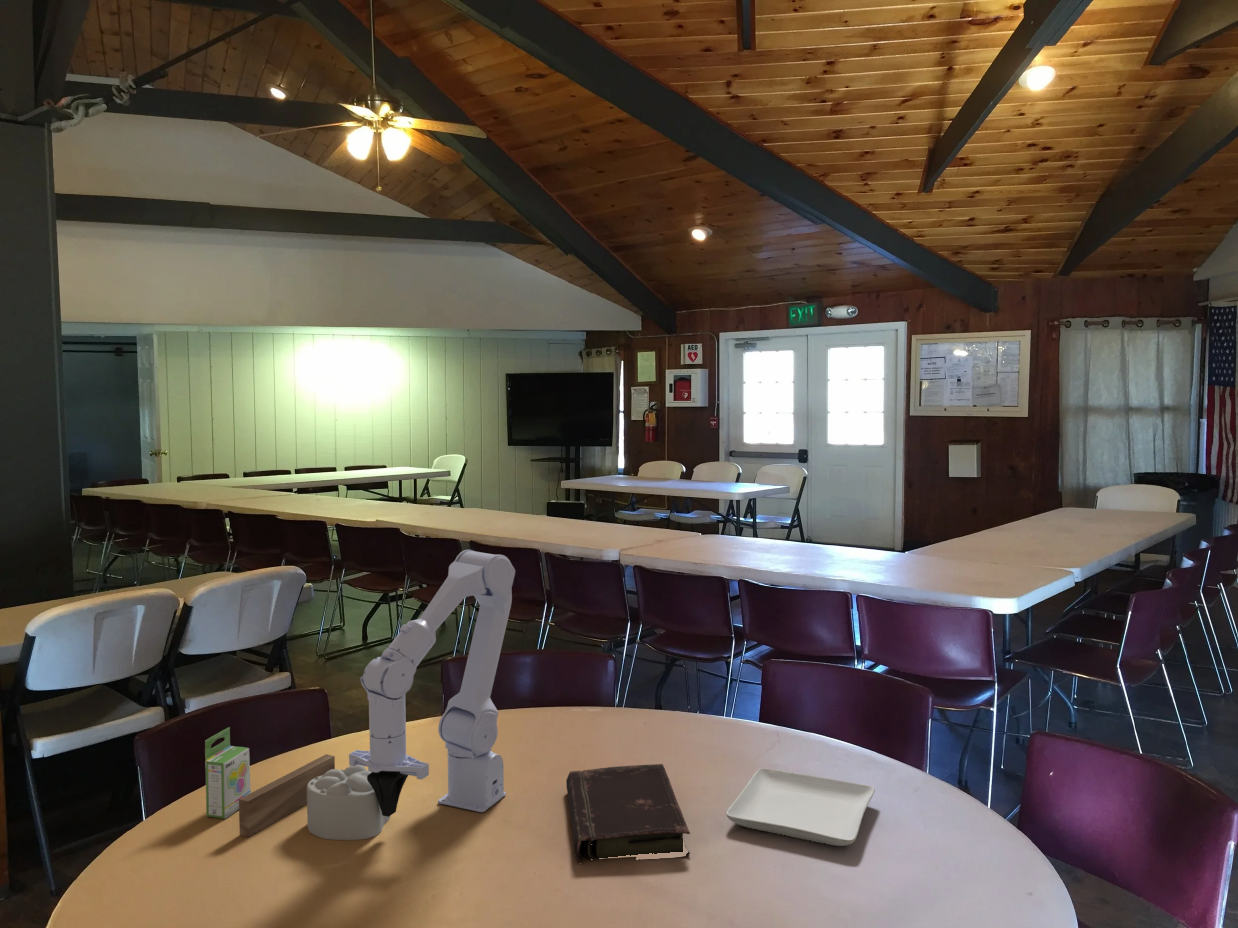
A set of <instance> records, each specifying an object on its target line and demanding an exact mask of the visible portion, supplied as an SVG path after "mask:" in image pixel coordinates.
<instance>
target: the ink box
mask: <svg viewBox="0 0 1238 928" xmlns="http://www.w3.org/2000/svg"><path fill="white" fill-rule="evenodd" d="M230 730H231V727H230V726H229V727H226V728H225V729H223V730H221V731H220V732H217V733H216V734H214V735H212V736H211V737H209V738H207V739H206V740H204V746H205V747H204V755H205V756H204V757H205V761H204V764H205V765H204V766H205V810H206V811H205V812H206V814H205V816H206V817H209V818H216V819H223V820H225V819H226V820H227V818H229V817H231V816H232V815H233V814H234V813H236V812H237V811H239V799H240V798H242V797H244V796H246V795H248V794H250V793H252V791H251V790H252V789H251V767H250V765H251V764H250V762H251V761H250V748H249V747H244V746H234V745H231V731H230ZM221 738H224V740H223V741H221V742H219V743H218V744H217V745H215V746H213V747H212V745H213V744H214V743H215V742H216V741H217V740H218V739H221Z"/></svg>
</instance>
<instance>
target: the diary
mask: <svg viewBox="0 0 1238 928" xmlns="http://www.w3.org/2000/svg"><path fill="white" fill-rule="evenodd" d="M565 787H566V792H567V793H566V794H567V799H568V805H569V817H570V824H571V831H572V836H573V846H574V849H573V850H574V857H575V859H576V862H577V863H581V862H582V855H581V845H582V842H585V845H586V850H587V855H588V857H589V859H593V860H594V856H593V857H592V854H593V849H592V850H591V847H592V845H591V844H595V845H594V847H595V852H596V856H597V858H598V860H599V858H608V857H618V856H626V855H630V856H631V855H638V854H649V853H652V854H653V853H654V854H657V853H670V852H683V839H684V835H683V834H685V835H686V834H687V835H690V834H691V832H690V830H689V827H688V825H687V822H686V820H685V817H684V815H683V813H682V810H681V807H680V805H679V803H678V800H677V798H676V795H675V792H674V789H673V786H672V783H671V780H670V779H669V776H668V773H667V771H666V769H665V767H664V764H663V763H656V764H652V763H651V764H638V765H619V766H610V767H609V766H608V767H600V768H591V769H586V770H585V769H584V770H572V771H569V773H568V775H567V777H566V786H565ZM689 854H690V855H691V852H690V851H688V853H687V854H686V855H688V856H690V855H689ZM580 855H581V856H580Z"/></svg>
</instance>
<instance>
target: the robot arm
mask: <svg viewBox="0 0 1238 928" xmlns="http://www.w3.org/2000/svg"><path fill="white" fill-rule="evenodd" d="M455 557H456V558H455V560H454V561H453V562H451V563H450V564H449V566H448V573H447V574H448V575H447V577H446V579H444V582H443V583H442V585H440V587H439V589H438V590H437V592H436V593H435V594H434V596H433V598H432V599H431V601H430V602H429V603H428V605H427V607H426V608H425V609H424V611H423V612H422V614H421V615H420V617H419V618H418V619H414V620H413V619H412V620H409V621H407V623H406V624H405V623H403V625H402V626H401V627H400V628H399V633H398V634H397V635H396V636H395V638H394V639H393V640H392V642H391V643H389V645H388V646H387V648H386V649H384V650H383V652H382V653H381V654H382V655H380V656H377V657H376V658H373V659H372V660H370V661H369V662H368V664H367V665H366V666H365V668H364V670H363V673H362V674H363V675H362V676H360V677H359V678H360V679H359V680H360V683H361V685H362V688H363V689H364V690H365V692H366V694H367V700H368V719H369V720H368V722H369V724H368V725H369V726H368V727H369V728H368V729H369V732H368V733H369V750H361V749H355V750H353V751H352V752H350V753H349V754H348V766H355V765H361V766H364V767H365V768H366V767H367V770H368V771H370V772H371V773H370V774H369V775H367V781H368V782H369V783H370V785H371V786H372V788H373V790H374V792H375V794H376V796H377V799H378V802H379V805H380V808H381V812H382V815H383V816H387V817H389V816H390V817H392V815H393V814H395V813H397V808H398V803H399V800H400V796H401V793H402V790H403V786H404V784H405V783H406V780H407V779H408V777H409V776H411V777H416V779H417V780H419V781H420V780H421V781H422V780H424V779H425V778H427V777H428V776H429V775H430V763H427V762H424V761H421V760H419V759H417V758H414V757H413V756H411V755H408V754H407V723H406V721H407V720H406V717H407V715H406V694H407V693H408V692H409V691H410V690H411V688H412V686H413V683H414V677H415V676H414V675H415V674H416V672H417V669H418V668H417V667H418V666H419V665H420V663H421V662H422V660H424V658H425V656H426V655H427V654H428V653H429V651H430V650H431V649H432V647H433V646H434V645H435V643H436V642H437V636H436V631H437V630H438V628H440V626H441V625H443V623H444V622H445V621H446V620H447V618H448V617H449V616H450V615H451V614H452V613H453V611H455V609H456V608H457V607H458V605H460V604H461V603H462V602H463V600H464V599H465V598H467V597H471V596H473V597H474V598H475V600H476V601H477V603H478V604H479V609H478V612H477V618H476V622H475V624H474V625H475V626H474V630H473V634H472V637H471V638H472V639H471V642H470V646H469V651H468V654H467V660H466V664H465V668H464V673H463V678H462V681H461V685H460V690H459V691H458V693H457V694H455V695H454V696H452V697H451V698H450V699H449V700H448V703H447V706H446V708H445V711H444V713H443V714H442V715H441V717H440V720H439V723H438V729H437V730H438V735H439V738H440V739H441V740H442V741H443V742H445V749H447V793H446V794H444V795H443V796H442V797H440V798H438V800H437V803H438V804H441V805H446V806H449V807H455V808H460V809H464V810H470V811H473V812H478V813H484V812H486V811H487V810H488V809H489V808H491V807H492V806H494V805H495V804H496V803H497V802H498V801H500V800H501V799H502V798H504V797H505V796H506V795H507V792H506V791H504V790H505V789H504V787H505V786H504V783H505V781H504V777H505V776H504V772H505V771H504V760H503V757H502V756H501V755H500V754H498V753H495V752H493V751H492V749H493V747H494V745H495V743H496V742H497V738H498V717H499V711H498V709H497V707H496V706H495V704H494V703H493V701H492V699H491V695H492V691H493V687H494V682H495V679H496V678H495V677H496V674H497V670H498V669H497V668H498V665H499V664H498V663H499V660H500V655H501V650H502V647H503V642H504V637H505V633H506V629H507V625H508V620H509V616H510V611H511V609H512V603H513V602H512V601H513V595H512V594H513V593H512V592H513V591H512V590H513V589H512V587H513V584H514V579H515V576H516V569H515V567H514V566H513V564H512V562H511V560H510V559H509V558H508V557H507V556H505V555H504V554H495V553H494V554H492V553H486V552H480V551H475V550H474V549H473V550H472V549H465V550H462V551H461V552H460V553H459V554H458V555H456V556H455Z"/></svg>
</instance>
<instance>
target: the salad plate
mask: <svg viewBox="0 0 1238 928" xmlns="http://www.w3.org/2000/svg"><path fill="white" fill-rule="evenodd" d="M875 788H876V787H874V786H872V785H867V784H866V785H865V784H861V783H856V782H850V781H844V780H839V779H832V778H828V777H827V778H826V777H820V776H816V775H815V776H813V775H809V774H804V773H803V774H802V773H795V772H792V771H791V772H790V771H785V770H784V771H783V770H777V769H773V768H772V769H771V768H765V767H760V768H758V769H757V770H756V772H755V773H754V774H753V775H752V776H751V778H750V779H749V781H748V783H747V784H746V785H745V787H744V788H743V789H742V790H741V792H740V793H739V795H738V796H737V797H736V798H735V799H734V801H733V802H732V804H731V805H730V806H729V807H728V808H727V810H726V812H725V815H726V817H727V818H728V819H729V820H730V821H731V822H733V823H734V824H736V825H739V826H741V827H745V828H748V829H751V828H752V829H753V830H756V829H757V831H762V832H766V831H767V833H771V832H772V833H771V834H775V833H777V835H780V834H782V835H781V836H784V835H786V836H785V837H789V836H791V837H790V838H794V837H796V838H795V839H799V838H801V839H800V840H804V839H806V840H805V841H809V840H811V841H810V842H814V841H816V842H815V843H819V842H820V844H824V843H825V845H830V846H836V847H845V846H850V845H851V844H853V843H854V842H855V841H856V839H857V838H858V837H857V836H858V834H859V831H860V827H861V824H862V820H863V818H864V814H865V812H866V809H868V805H869V803H870V801H871V799H872V798H873V796H874V794H875V791H876V789H875ZM752 829H751V830H752Z"/></svg>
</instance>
